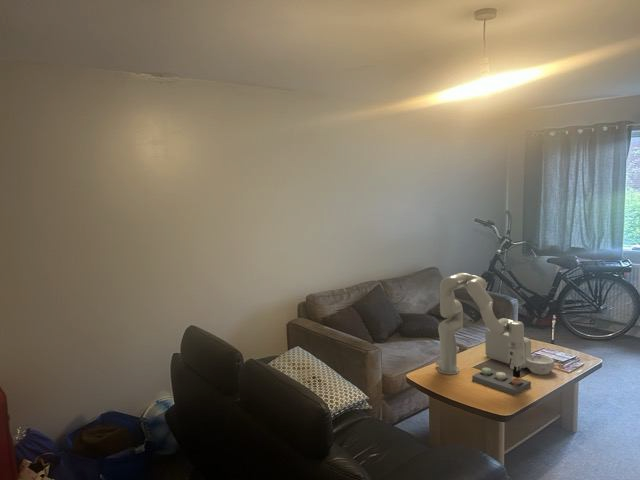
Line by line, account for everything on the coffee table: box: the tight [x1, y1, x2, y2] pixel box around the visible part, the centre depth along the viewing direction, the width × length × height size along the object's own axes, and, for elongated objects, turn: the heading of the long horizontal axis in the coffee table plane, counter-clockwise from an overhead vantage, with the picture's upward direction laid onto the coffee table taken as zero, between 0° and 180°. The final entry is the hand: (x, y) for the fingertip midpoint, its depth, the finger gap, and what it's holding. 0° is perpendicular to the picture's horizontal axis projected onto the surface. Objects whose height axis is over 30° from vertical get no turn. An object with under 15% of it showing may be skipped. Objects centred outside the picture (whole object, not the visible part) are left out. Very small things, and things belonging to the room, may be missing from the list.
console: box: [471, 368, 532, 396], centre depth 256 cm, size 26×16×3 cm, turn 37°
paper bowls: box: [526, 354, 555, 376], centre depth 270 cm, size 15×15×8 cm
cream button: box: [496, 371, 507, 380], centre depth 256 cm, size 5×5×2 cm
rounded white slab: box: [484, 329, 532, 369], centre depth 287 cm, size 29×8×18 cm, turn 33°
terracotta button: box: [511, 377, 522, 385], centre depth 249 cm, size 5×5×2 cm
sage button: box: [481, 367, 492, 375], centre depth 263 cm, size 5×5×2 cm
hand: (516, 376), depth 248 cm, fingers closed
